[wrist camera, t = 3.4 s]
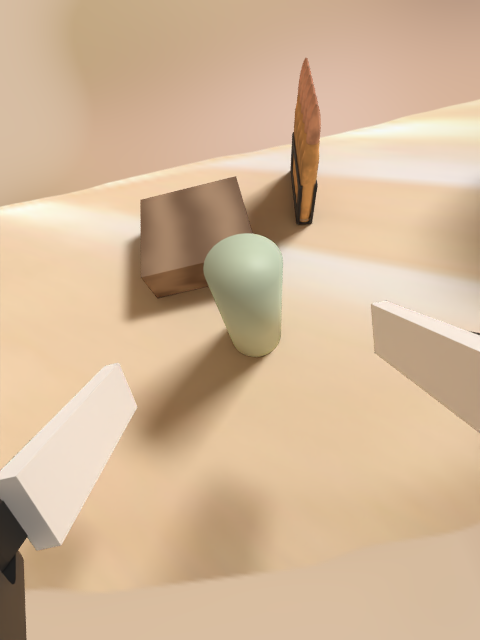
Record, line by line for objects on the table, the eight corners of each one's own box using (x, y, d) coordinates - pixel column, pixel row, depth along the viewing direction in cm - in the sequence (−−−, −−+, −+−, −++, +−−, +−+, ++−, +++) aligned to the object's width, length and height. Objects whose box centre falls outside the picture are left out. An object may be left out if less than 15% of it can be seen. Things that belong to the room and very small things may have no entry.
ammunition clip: (312, 224, 31) (329, 108, 21) (296, 225, 31) (306, 111, 21) (303, 168, 36) (314, 52, 25) (290, 170, 36) (295, 55, 26)
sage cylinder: (273, 306, 27) (271, 225, 17) (286, 350, 24) (292, 286, 15) (227, 317, 27) (199, 243, 17) (235, 362, 25) (208, 305, 15)
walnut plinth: (240, 204, 34) (235, 176, 31) (259, 274, 29) (257, 249, 25) (154, 225, 35) (140, 200, 31) (157, 298, 29) (140, 277, 26)
